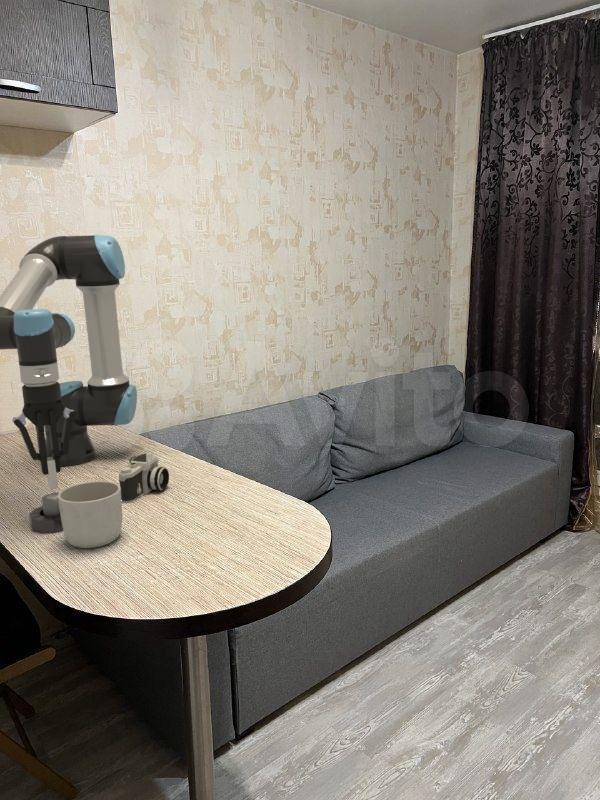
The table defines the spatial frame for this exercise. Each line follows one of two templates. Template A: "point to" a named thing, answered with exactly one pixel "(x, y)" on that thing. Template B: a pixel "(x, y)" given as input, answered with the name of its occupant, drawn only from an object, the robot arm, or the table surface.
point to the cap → (51, 505)
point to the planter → (91, 513)
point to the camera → (142, 477)
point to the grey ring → (44, 522)
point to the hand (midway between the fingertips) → (53, 486)
